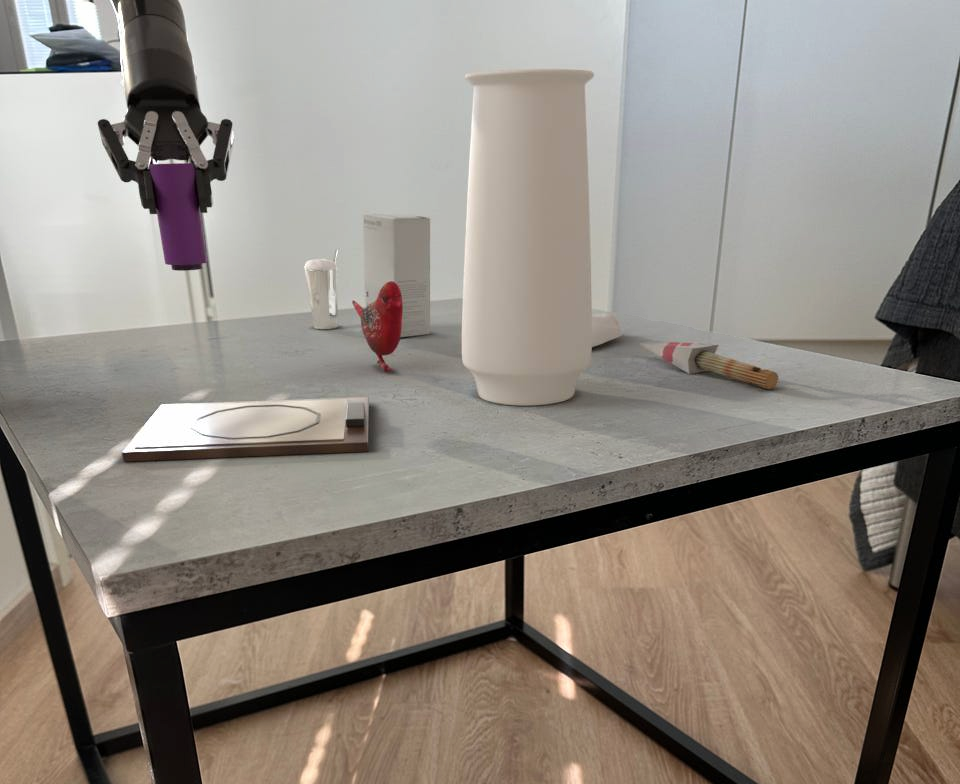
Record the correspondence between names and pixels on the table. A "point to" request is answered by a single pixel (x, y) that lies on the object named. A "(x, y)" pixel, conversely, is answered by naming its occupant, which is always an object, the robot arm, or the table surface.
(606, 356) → the table surface
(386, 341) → the decorative bird figurine
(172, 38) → the robot arm
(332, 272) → the milkshake
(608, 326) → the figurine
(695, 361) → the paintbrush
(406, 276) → the cosmetic box
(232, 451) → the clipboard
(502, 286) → the vase
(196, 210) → the dot marker
